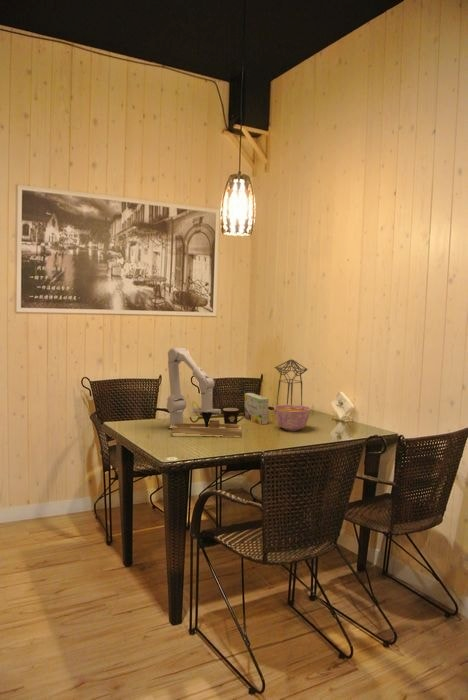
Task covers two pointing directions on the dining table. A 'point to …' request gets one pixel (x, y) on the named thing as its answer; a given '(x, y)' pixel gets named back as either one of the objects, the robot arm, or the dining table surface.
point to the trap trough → (207, 429)
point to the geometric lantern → (289, 377)
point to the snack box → (256, 408)
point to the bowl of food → (292, 416)
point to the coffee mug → (231, 415)
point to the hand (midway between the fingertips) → (206, 426)
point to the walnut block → (214, 424)
